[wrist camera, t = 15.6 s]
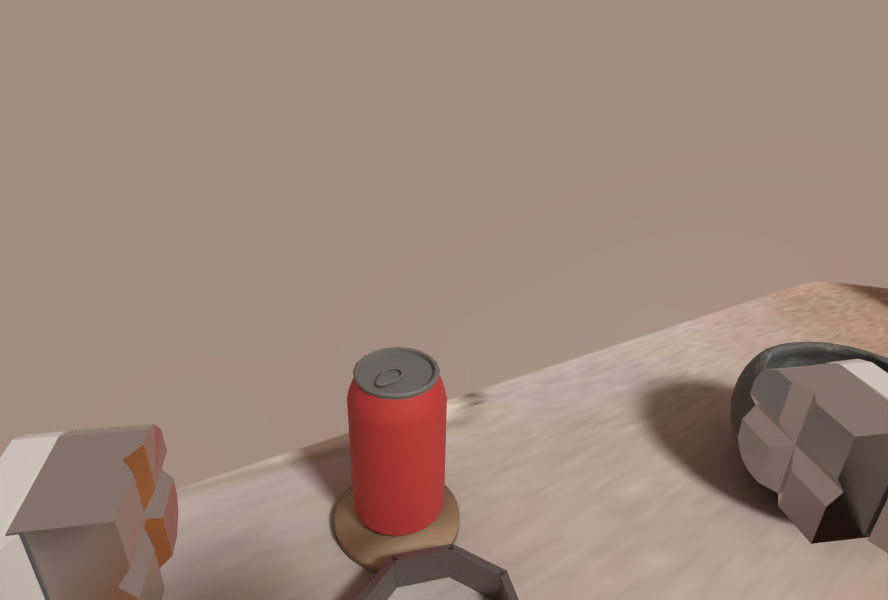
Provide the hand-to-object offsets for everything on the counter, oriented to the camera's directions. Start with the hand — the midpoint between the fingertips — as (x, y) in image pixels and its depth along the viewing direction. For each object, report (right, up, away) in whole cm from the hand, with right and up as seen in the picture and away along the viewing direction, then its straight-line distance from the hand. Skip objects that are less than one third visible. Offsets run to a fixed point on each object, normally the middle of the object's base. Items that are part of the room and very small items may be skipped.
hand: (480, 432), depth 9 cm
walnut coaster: (-4, -14, +37) cm, 40 cm away
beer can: (-4, -13, +38) cm, 40 cm away
